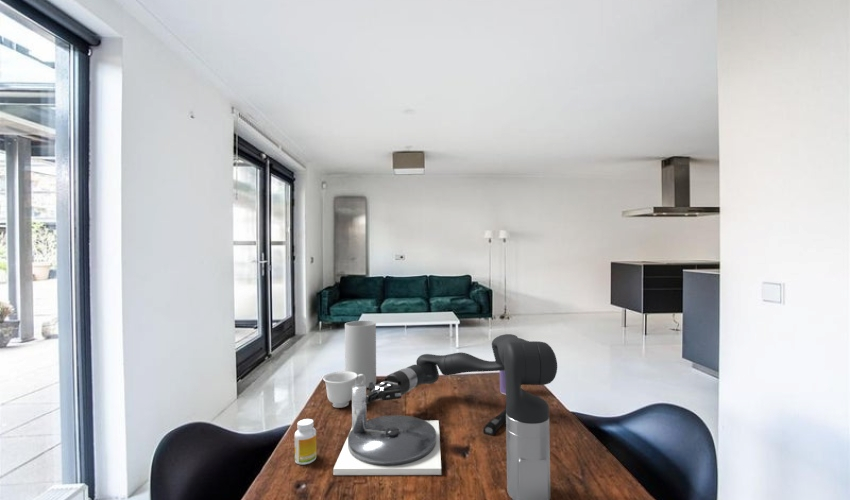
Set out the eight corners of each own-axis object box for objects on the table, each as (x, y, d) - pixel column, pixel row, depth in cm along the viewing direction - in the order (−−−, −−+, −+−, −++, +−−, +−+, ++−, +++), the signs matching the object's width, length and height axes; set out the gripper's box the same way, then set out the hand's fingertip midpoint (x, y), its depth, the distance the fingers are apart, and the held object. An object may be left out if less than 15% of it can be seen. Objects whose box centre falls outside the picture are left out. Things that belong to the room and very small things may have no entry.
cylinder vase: (343, 381, 157) (343, 321, 157) (373, 378, 161) (373, 319, 161) (346, 391, 145) (346, 327, 145) (378, 387, 149) (378, 325, 149)
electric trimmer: (514, 418, 121) (514, 408, 121) (494, 437, 108) (493, 426, 108) (503, 416, 123) (503, 406, 123) (482, 434, 110) (482, 423, 110)
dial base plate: (441, 474, 89) (441, 467, 89) (333, 475, 90) (333, 467, 90) (438, 425, 115) (438, 419, 115) (354, 425, 116) (354, 419, 116)
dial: (454, 445, 100) (453, 393, 100) (374, 477, 86) (373, 416, 86) (405, 415, 119) (405, 371, 119) (334, 437, 105) (333, 387, 105)
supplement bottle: (320, 457, 98) (320, 420, 98) (304, 467, 93) (304, 428, 93) (306, 452, 100) (306, 415, 101) (290, 461, 96) (290, 423, 96)
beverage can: (497, 394, 141) (497, 354, 141) (502, 388, 146) (501, 350, 146) (513, 396, 138) (513, 356, 138) (517, 391, 143) (517, 352, 143)
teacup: (369, 407, 130) (369, 378, 130) (325, 414, 124) (325, 384, 125) (362, 395, 141) (361, 368, 141) (321, 401, 136) (321, 373, 136)
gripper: (417, 397, 120) (383, 417, 105) (385, 389, 127) (349, 407, 112) (417, 374, 120) (383, 391, 105) (385, 367, 127) (349, 382, 112)
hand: (366, 399), depth 109 cm, fingers closed
